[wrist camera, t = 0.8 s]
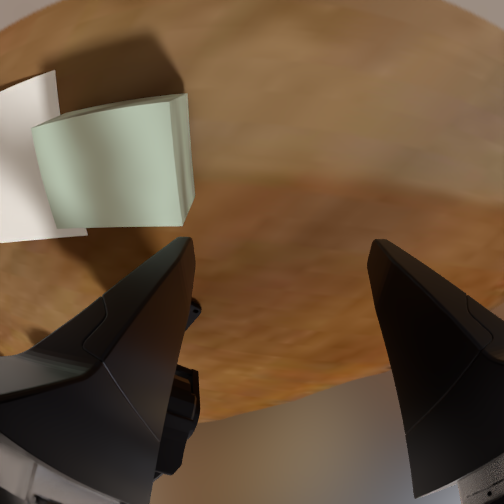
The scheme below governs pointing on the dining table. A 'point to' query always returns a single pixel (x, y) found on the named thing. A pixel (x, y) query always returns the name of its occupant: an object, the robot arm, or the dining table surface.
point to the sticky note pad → (118, 164)
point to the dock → (26, 162)
